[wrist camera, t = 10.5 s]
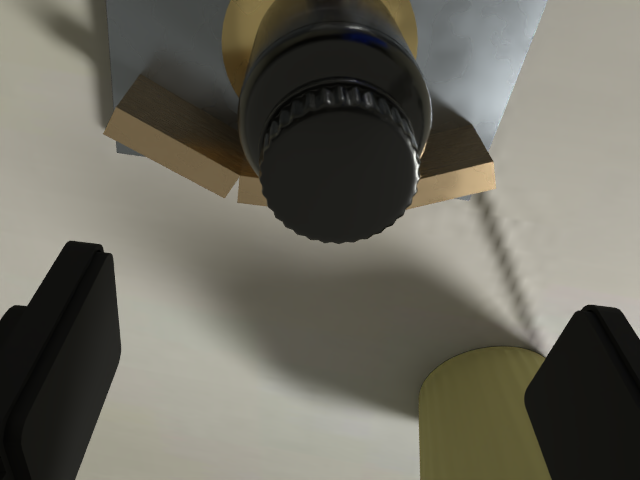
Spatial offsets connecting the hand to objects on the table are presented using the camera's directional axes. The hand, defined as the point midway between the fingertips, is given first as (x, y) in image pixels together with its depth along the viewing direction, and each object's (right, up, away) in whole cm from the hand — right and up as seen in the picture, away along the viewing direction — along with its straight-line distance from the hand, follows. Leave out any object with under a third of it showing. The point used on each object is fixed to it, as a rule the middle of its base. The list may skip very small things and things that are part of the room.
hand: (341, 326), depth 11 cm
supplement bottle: (0, +11, +14) cm, 18 cm away
